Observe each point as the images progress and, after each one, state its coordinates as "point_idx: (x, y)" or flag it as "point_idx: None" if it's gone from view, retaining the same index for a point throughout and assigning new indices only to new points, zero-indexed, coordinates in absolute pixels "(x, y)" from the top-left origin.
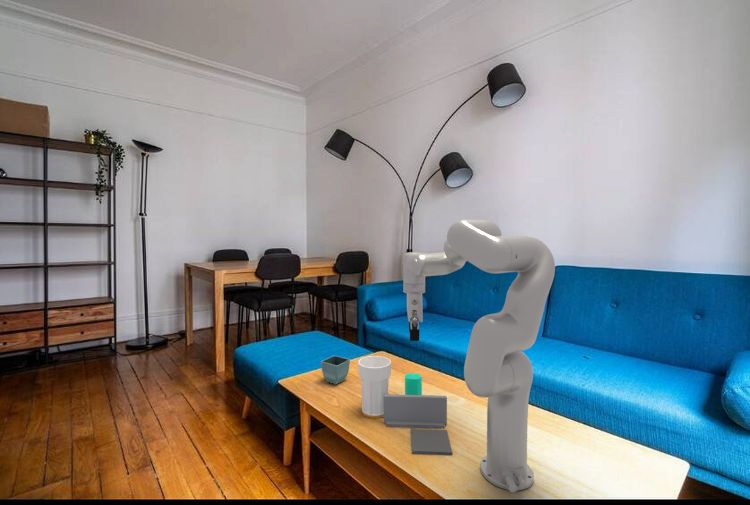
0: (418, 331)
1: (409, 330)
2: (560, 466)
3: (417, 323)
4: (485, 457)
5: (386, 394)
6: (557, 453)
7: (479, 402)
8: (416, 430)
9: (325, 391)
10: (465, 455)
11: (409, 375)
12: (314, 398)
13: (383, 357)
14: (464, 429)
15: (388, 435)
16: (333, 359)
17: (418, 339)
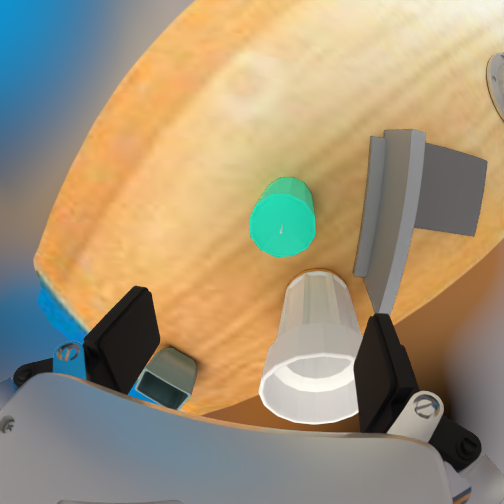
0: (404, 375)
1: (154, 349)
2: (484, 6)
3: (473, 456)
4: (501, 108)
5: (380, 312)
6: None
7: (266, 19)
8: (421, 215)
9: (225, 376)
10: (485, 135)
11: (263, 237)
12: (255, 390)
13: (274, 371)
14: (409, 95)
15: (415, 272)
16: (142, 386)
17: (389, 324)
